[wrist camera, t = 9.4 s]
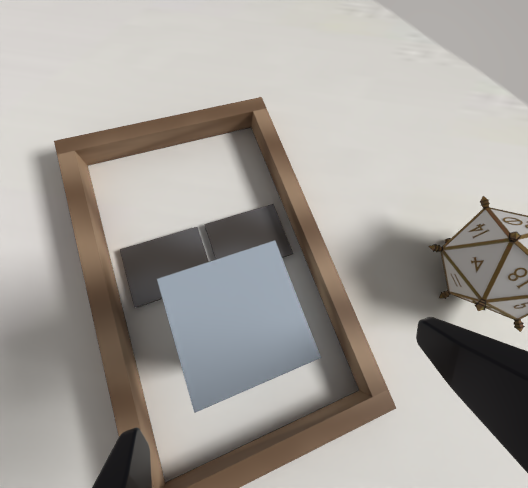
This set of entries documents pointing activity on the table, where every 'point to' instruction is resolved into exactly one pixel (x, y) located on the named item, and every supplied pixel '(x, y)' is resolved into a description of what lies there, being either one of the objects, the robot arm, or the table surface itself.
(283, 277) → the slate-blue block
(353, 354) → the frame
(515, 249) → the game die
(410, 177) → the table surface
